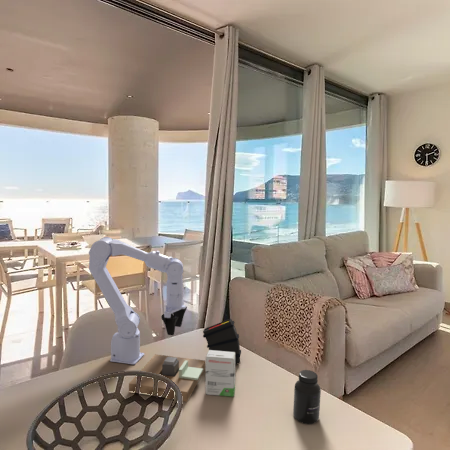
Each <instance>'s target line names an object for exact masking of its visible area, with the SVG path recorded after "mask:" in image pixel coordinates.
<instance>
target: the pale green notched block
mask: <svg viewBox="0 0 450 450" xmlns="http://www.w3.org/2000/svg"><path fill="white" fill-rule="evenodd" d="M202 371H203V369H202V368H195V367H188V361H187V360H185V361H184V363H183V364H182V366H181V367H180V368H179V378H185V379H192V380H198V379H199V377H200V375H201V373H202ZM199 380H200V379H199Z"/></svg>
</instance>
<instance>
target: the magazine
mask: <svg viewBox="0 0 450 450" xmlns="http://www.w3.org/2000/svg"><path fill="white" fill-rule="evenodd" d="M202 334H203V336H202V337H203V338H205V340H206V342H207V345H206V348H207V349H208V351H209V350H215V351H227V352H235V364H240V362H241V354H242V349H240V348H241V345H240V341H239V338H240V335H239V333H237V329H236V326H235V320H233V319H232V318H229V319H226V320H223V321H221V322H218V323H216V324H212V325H211V326H208V327H206V328H204V329H203V330H202Z"/></svg>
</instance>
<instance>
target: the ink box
mask: <svg viewBox="0 0 450 450" xmlns="http://www.w3.org/2000/svg"><path fill="white" fill-rule="evenodd" d="M235 391H236V363H235V352H227V351H215V350H209V349H208V351H207V354H206V356H205V395H209V396H210V395H211V396H220V397H221V396H222V397H230V398H231V397H235Z"/></svg>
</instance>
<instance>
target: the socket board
mask: <svg viewBox="0 0 450 450" xmlns="http://www.w3.org/2000/svg"><path fill="white" fill-rule="evenodd" d="M168 356H169V357H174V356H171V355H162V354H156V353H155V354H154V355H153V356H152V357H151V358H150V359H149V361H148V362H147V363H145V365H144V366H143V367H142V368H141V369H140V371H146V372H152V373H156V374H161V375H162V364H163V363H164V361H165V359H166V358H167V357H168ZM175 357H176V358H177V360H179V368H180V367H181V366H182V364H183V363H184V361H185V360H187V361H188V367H195V368H202V369H203V371H202V373H201V375H200V377H199V379H198V380H192V379H185V378H179V371H178V373H177V374H176V376H175V377H173V376H166V375H163V376H165V377H167V378H169V379H170V380H172V381H173V382H175V384H176V385H177V386H178V387H179V389H180V391H181V393H182V396H183V401H182V402H186V403H188V401H189V399H190V398H191V396H192V394H193V392H194V391H195V389H196V386H197V385H198V383H199V381H200V379H201V377H202V376H203V374H204V372H205V371H206V359H205V360H203V359H195V358H187V357H180V356H175ZM136 378H137V377H136V375H135V376H134V377H133V378H132V379H131V381H129V383H128V392H129V391H133V392H134V391H135V387H136ZM153 384H154V382H153V379H152V378H147V377H142V380H141V387H140V392H141V393H147V394H150V395H151V394H152V392H153ZM165 389H166V384H165V383H164V382H162V381H159V382H158V392H157V393H158V396H161V395H162V394H163V392H164V390H165ZM173 398H174V391H173V390H172V389H170V392H169V394H168V396H167V398H166V399H167V400H171V399H173ZM166 399H165V400H166Z"/></svg>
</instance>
